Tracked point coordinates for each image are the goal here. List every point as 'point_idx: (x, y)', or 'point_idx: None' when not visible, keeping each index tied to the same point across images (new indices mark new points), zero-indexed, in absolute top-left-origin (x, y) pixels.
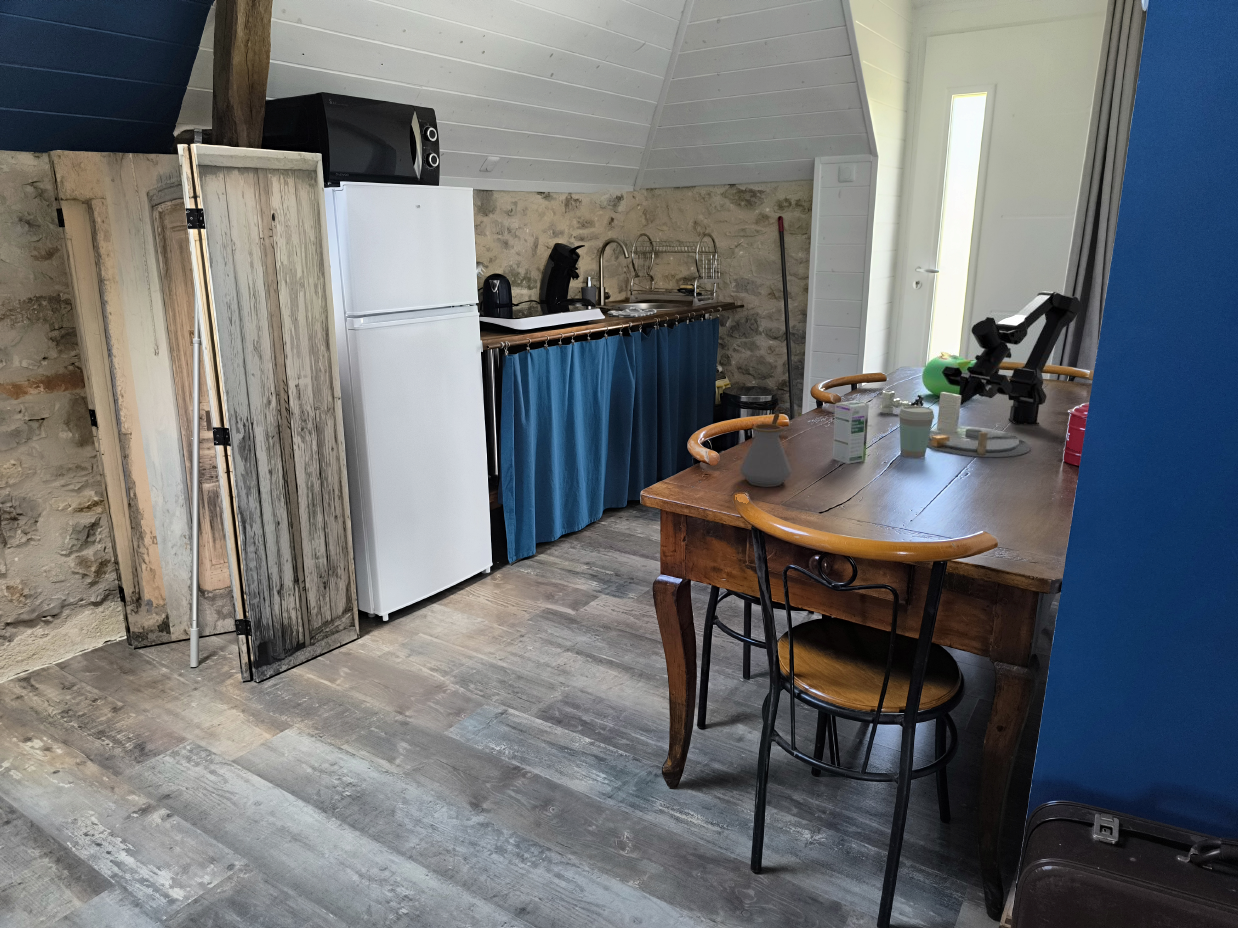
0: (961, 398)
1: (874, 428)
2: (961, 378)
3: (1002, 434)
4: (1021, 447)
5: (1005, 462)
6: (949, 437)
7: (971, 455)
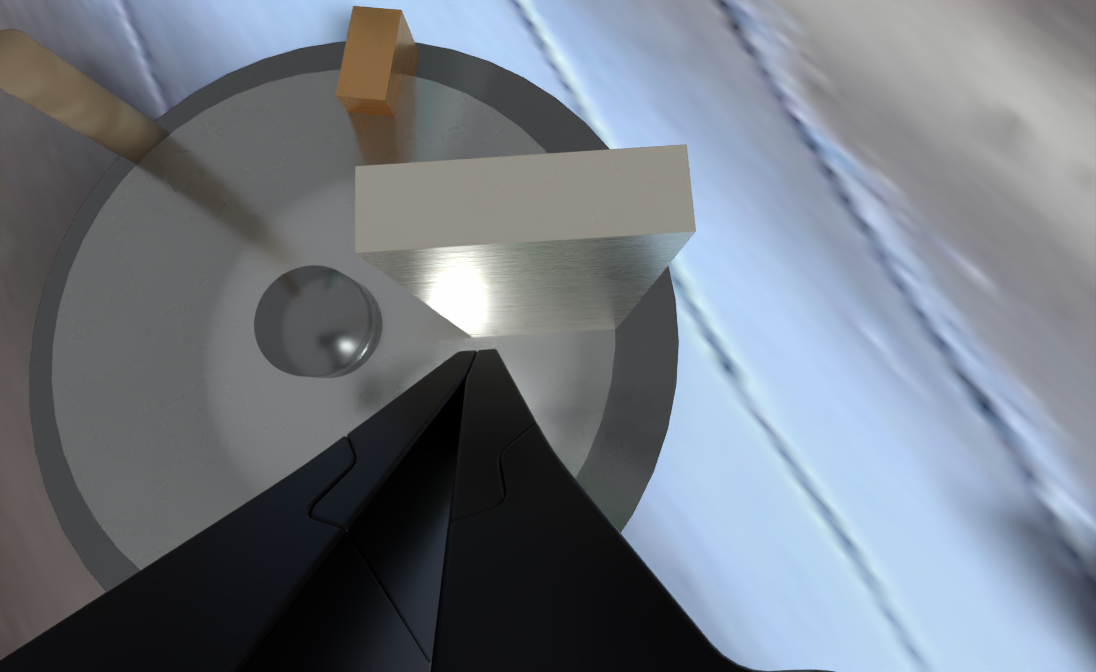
0: (451, 368)
1: (924, 111)
2: (633, 641)
3: None
4: None
5: (21, 166)
6: (339, 99)
7: (184, 103)
